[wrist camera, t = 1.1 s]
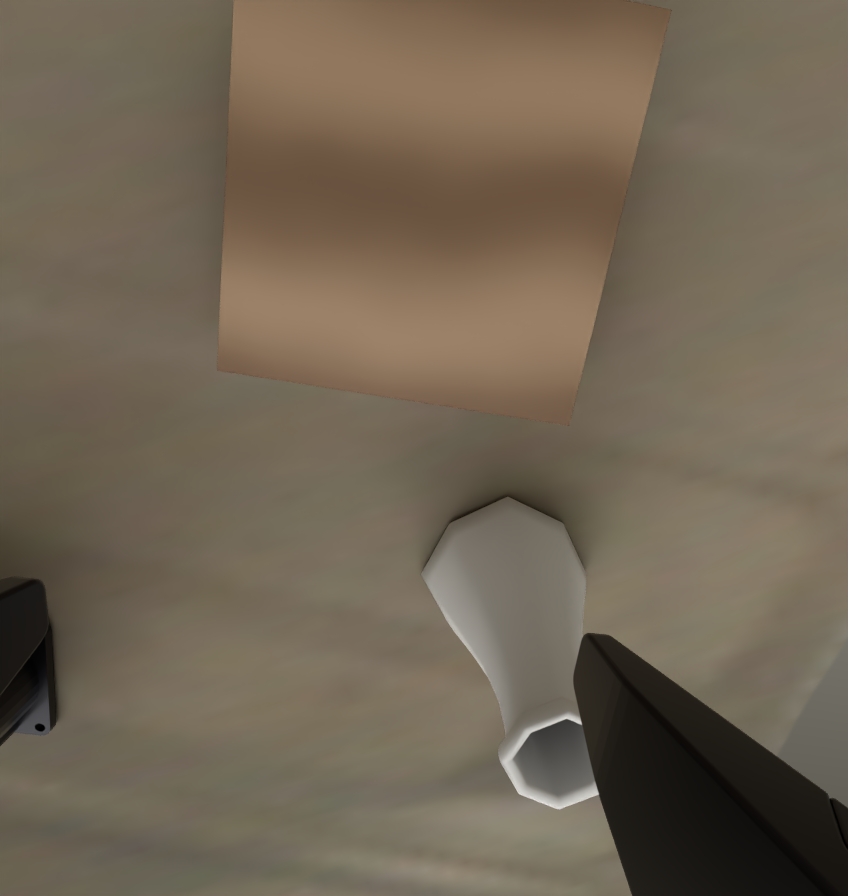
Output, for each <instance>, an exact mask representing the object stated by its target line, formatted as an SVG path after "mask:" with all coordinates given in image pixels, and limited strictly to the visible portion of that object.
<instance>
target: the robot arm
mask: <svg viewBox="0 0 848 896" xmlns="http://www.w3.org/2000/svg"><path fill="white" fill-rule="evenodd" d="M573 686H574V691H575V696H576V700H577V705H578V709H579V714H580V718H581V723H582V727H583V732H584V736H585V741H586V745H587V750H588V754H589V759H590V763H591V767H592V771H593V775H594V780H595V783H596V786H597V790H598V793H599V796H600V800H601V803H602V806H603V809H604V812H605V815H606V818H607V821H608V824H609V827H610V830H611V833H612V836H613V839H614V842H615V845H616V848H617V851H618V854H619V857H620V860H621V863H622V866H623V869H624V872H625V875H626V878H627V881H628V885H629V888H630V891H631V894H632V896H848V808H847V807H846V806H844V805H843V804H842V803H841V802H839V801H838V800H836V799H834V798H829V796H828V794H827V793H826V792H825V791H824V790H822V789H821V788H820V787H818V786H817V785H816V784H814V783H813V782H811V781H810V780H809V779H807V778H806V777H805V776H803V775H802V774H800V773H799V772H797V771H796V770H795V769H793V768H792V767H791V766H789V765H788V764H787V763H785V762H784V761H782V760H781V759H780V758H778V757H777V756H776V755H774V754H773V753H771V752H770V751H769V750H767V749H766V748H764V747H763V746H762V745H760V744H759V743H758V742H756V741H755V740H753V739H752V738H751V737H749V736H748V735H747V734H745V733H744V732H742V731H741V730H740V729H738V728H737V727H736V726H734V725H733V724H731V723H730V722H729V721H727V720H726V719H724V718H723V717H722V716H720V715H719V714H718V713H716V712H715V711H713V710H712V709H711V708H709V707H708V706H707V705H705V704H704V703H702V702H701V701H700V700H698V699H697V698H696V697H694V696H693V695H691V694H690V693H689V692H687V691H686V690H684V689H683V688H682V687H680V686H679V685H678V684H676V683H675V682H673V681H672V680H671V679H669V678H668V677H667V676H665V675H664V674H662V673H661V672H660V671H658V670H657V669H656V668H654V667H653V666H651V665H650V664H649V663H647V662H646V661H644V660H643V659H642V658H640V657H639V656H638V655H636V654H635V653H633V652H632V651H631V650H629V649H628V648H627V647H625V646H624V645H622V644H621V643H620V642H618V641H617V640H616V639H614V638H613V637H611V636H609V635H606V634H595V633H587V634H585V635H584V636H583V638H582V640H581V644H580V648H579V652H578V656H577V660H576V665H575V669H574V674H573ZM55 725H56V710H55V691H54V673H53V654H52V635H51V627H50V625H49V618H48V609H47V600H46V590H45V585H44V584H43V582H42V581H40V580H39V579H34V578H24V577H9V578H6V579H2V580H0V746H1V745H2V744H3V743H4V742H5V741H6V740H7V739H8V738H9V737H10V736H11V735H12V734H13V733H14V732H15V733H24V734H32V735H46V734H48V733H49V732H50V731H51V730H52V728H53V727H54V726H55Z"/></svg>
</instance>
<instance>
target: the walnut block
mask: <svg viewBox="0 0 848 896" xmlns="http://www.w3.org/2000/svg"><path fill="white" fill-rule="evenodd" d="M670 14H671V9H666V8H661V7H656V6H651V5H646V4H641V3H636V2H631V1H626V0H234V7H233V29H232V51H231V73H230V95H229V117H228V139H227V161H226V183H225V205H224V227H223V249H222V271H221V293H220V315H219V337H218V359H217V371H224V372H230V373H236V374H243V375H249V376H255V377H262V378H268V379H274V380H281V381H287V382H293V383H300V384H306V385H313V386H319V387H325V388H332V389H338V390H344V391H351V392H357V393H363V394H370V395H376V396H382V397H389V398H395V399H401V400H408V401H414V402H421V403H427V404H433V405H440V406H446V407H452V408H459V409H465V410H471V411H478V412H484V413H490V414H497V415H503V416H510V417H516V418H522V419H529V420H535V421H541V422H548V423H554V424H560V425H567V426H569V424H570V420H571V416H572V412H573V408H574V404H575V400H576V396H577V392H578V388H579V384H580V380H581V376H582V372H583V368H584V363H585V359H586V355H587V351H588V347H589V343H590V339H591V335H592V331H593V327H594V323H595V319H596V315H597V311H598V307H599V303H600V298H601V294H602V290H603V286H604V282H605V278H606V274H607V270H608V266H609V262H610V258H611V254H612V250H613V246H614V242H615V238H616V234H617V229H618V225H619V221H620V217H621V213H622V209H623V205H624V201H625V197H626V193H627V189H628V185H629V181H630V177H631V173H632V169H633V165H634V160H635V156H636V152H637V148H638V144H639V140H640V136H641V132H642V128H643V124H644V120H645V116H646V112H647V108H648V104H649V100H650V95H651V91H652V87H653V83H654V79H655V75H656V71H657V67H658V63H659V59H660V55H661V51H662V47H663V43H664V39H665V35H666V31H667V26H668V22H669V18H670Z"/></svg>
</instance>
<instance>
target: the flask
mask: <svg viewBox="0 0 848 896" xmlns="http://www.w3.org/2000/svg"><path fill="white" fill-rule="evenodd" d="M421 575H422V577H423V579H424V581H425V582H426V584H427V586H428V588H429V590H430V591H431V593H432V595H433V597H434V599H435V600H436V602H437V604H438V606H439V607H440V609H441V611H442V613H443V615H444V616H445V618H446V620H447V622H448V623H449V625H450V626H451V628H452V629H453V630H454V632H455V633H456V634H457V636H458V637H459V638H460V639H461V641H462V642H463V643H464V644H465V646H466V647H467V648H468V650H469V651H470V652H471V653H472V655H473V656H474V658H475V659H476V660H477V662H478V663H479V665H480V666H481V668H482V669H483V671H484V672H485V674H486V675H487V676H488V678H489V681H490V683H491V685H492V687H493V690H494V692H495V694H496V697H497V699H498V701H499V705H500V709H501V714H502V718H503V723H504V727H505V734H506V737H505V738H504V740H503V741H502V743H501V744H500V746H499V753H498V755H499V759H500V762H501V764H502V766H503V767H504V769H505V771H506V773H507V774H508V776H509V778H510V780H511V781H512V783H513V785H514V786H515V788H516V790H517V792H518V793H519V794H520V795H523V796H525V797H528V798H530V799H533V800H535V801H538V802H540V803H543V804H546V805H548V806H551V807H553V808H556V809H561V808H564V807H567V806H569V805H572V804H575V803H577V802H580V801H583V800H585V799H588V798H591V797H593V796H596V795H599V793H598V790H597V786H596V783H595V780H594V775H593V771H592V767H591V763H590V759H589V754H588V750H587V745H586V741H585V736H584V732H583V727H582V723H581V718H580V714H579V709H578V705H577V700H576V696H575V691H574V686H573V674H574V669H575V665H576V660H577V656H578V652H579V648H580V644H581V640H582V634H583V612H584V601H585V591H586V572H585V570H584V568H583V565H582V563H581V561H580V559H579V557H578V554H577V552H576V550H575V548H574V546H573V544H572V541H571V539H570V537H569V535H568V533H567V530H566V528H565V526H564V524H563V523H562V522H560V521H558V520H555V519H553V518H551V517H549V516H547V515H545V514H543V513H541V512H539V511H537V510H535V509H533V508H530V507H528V506H526V505H524V504H522V503H520V502H518V501H516V500H514V499H512V498H510V497H506V498H503V499H501V500H499V501H497V502H495V503H493V504H490V505H488V506H486V507H484V508H482V509H479V510H477V511H475V512H473V513H471V514H469V515H466V516H464V517H462V518H460V519H458V520H455V521H453V522H451V523H449V525H448V527H447V528H446V530H445V532H444V534H443V536H442V537H441V539H440V541H439V543H438V545H437V546H436V548H435V550H434V552H433V554H432V555H431V557H430V559H429V561H428V562H427V564H426V566H425V568H424V570H423V571H422V573H421Z"/></svg>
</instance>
